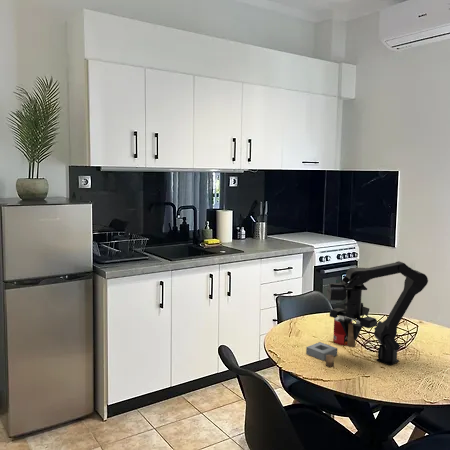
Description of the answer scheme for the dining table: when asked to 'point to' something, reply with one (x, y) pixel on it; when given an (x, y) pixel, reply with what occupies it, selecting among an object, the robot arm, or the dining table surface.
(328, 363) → the short pin
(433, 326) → the dining table surface
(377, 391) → the dining table surface
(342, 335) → the canned food
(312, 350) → the socket block
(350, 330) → the long pin
